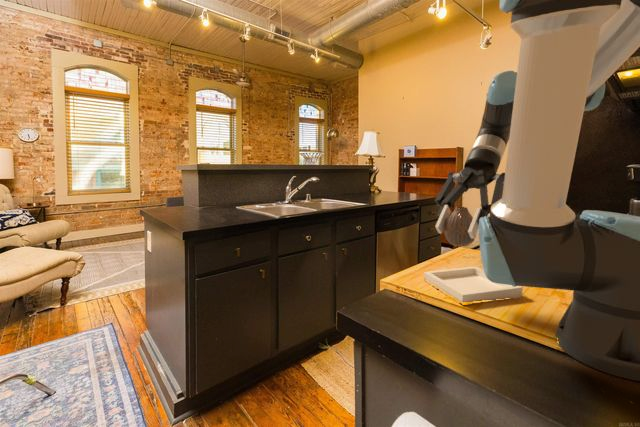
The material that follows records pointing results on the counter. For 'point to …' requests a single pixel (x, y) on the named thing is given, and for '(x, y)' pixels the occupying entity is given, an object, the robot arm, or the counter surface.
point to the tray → (471, 285)
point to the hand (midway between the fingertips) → (454, 232)
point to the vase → (458, 227)
